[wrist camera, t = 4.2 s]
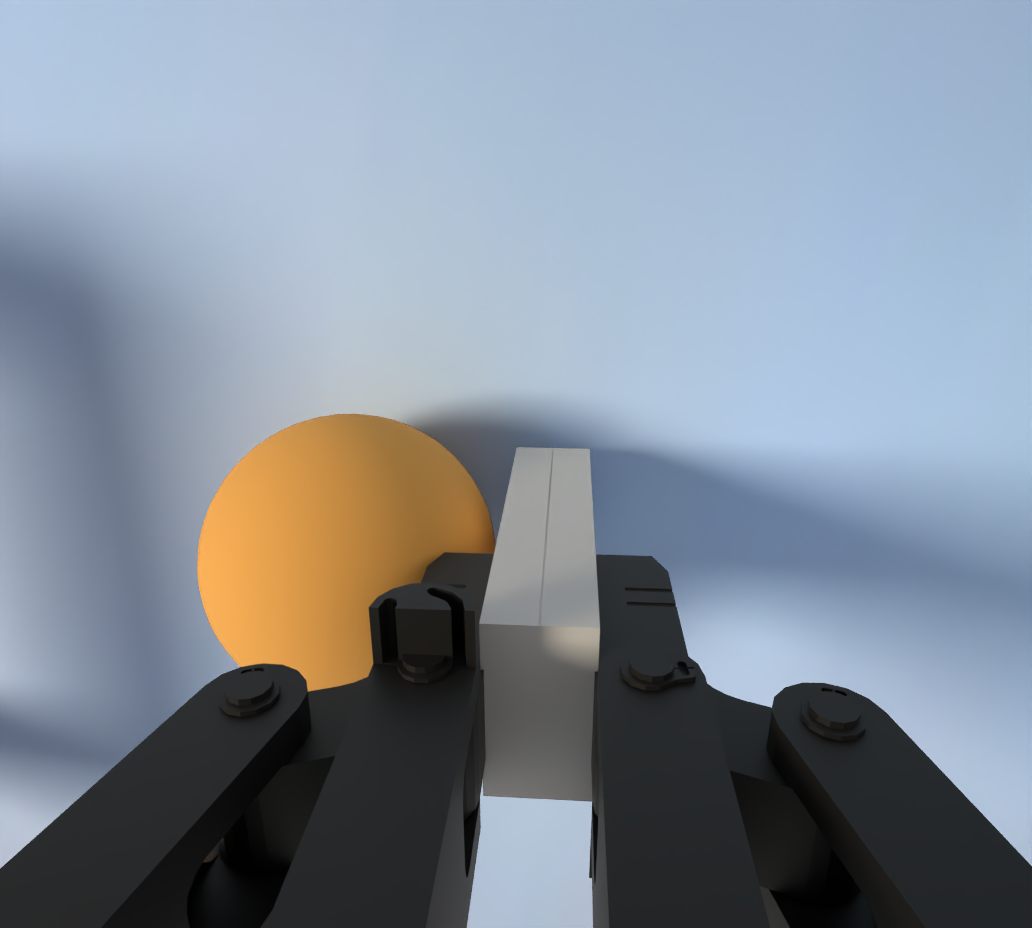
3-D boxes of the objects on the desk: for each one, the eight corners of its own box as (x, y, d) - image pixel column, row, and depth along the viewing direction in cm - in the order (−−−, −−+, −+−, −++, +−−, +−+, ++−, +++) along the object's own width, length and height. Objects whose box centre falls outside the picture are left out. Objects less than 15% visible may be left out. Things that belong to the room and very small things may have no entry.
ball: (258, 378, 16) (103, 467, 11) (511, 386, 16) (471, 484, 11) (283, 600, 18) (161, 763, 13) (509, 614, 18) (474, 789, 13)
